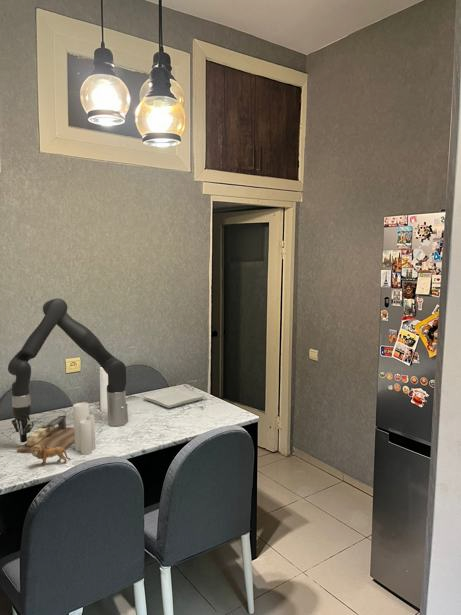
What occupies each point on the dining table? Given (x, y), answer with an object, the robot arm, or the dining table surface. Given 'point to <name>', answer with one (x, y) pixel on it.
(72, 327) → the robot arm
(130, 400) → the dining table surface
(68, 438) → the walnut board
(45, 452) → the lion figurine
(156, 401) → the square plate
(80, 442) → the white pillar candles
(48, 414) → the dining table surface
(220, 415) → the dining table surface
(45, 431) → the maple link
